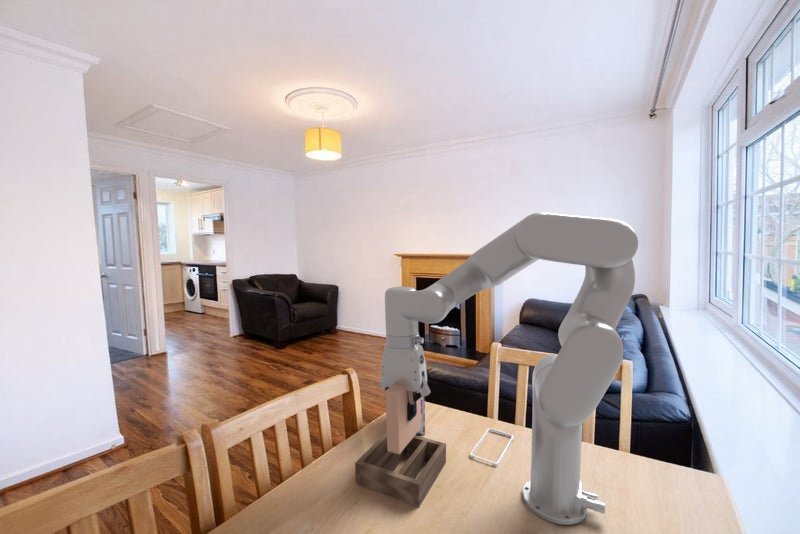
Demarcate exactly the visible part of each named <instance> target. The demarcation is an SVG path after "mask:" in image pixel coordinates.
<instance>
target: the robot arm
mask: <svg viewBox="0 0 800 534" xmlns="http://www.w3.org/2000/svg"><path fill="white" fill-rule="evenodd" d="M638 247H639V239H638V235H637V233H636V231H635V230H634V229H633V228H632V226H631V225H629V224H628V223H627V222H625V221H622V220H618V219H616V218H615V219H614V218H603V217H592V216H591V217H590V216H580V215H570V214H569V215H568V214H559V213H552V212H543V211H542V212H540V211H539V212H538V211H537V212H534V213H531V214H529V215H527V216H525V217H524V218H523V219H521V220H520V221H519V222H516V224H514V225H512V226H511V227H510V228H509V229H507V230H505V231H504V232H503V233H501V234H500V235H498V236H497V237H495V238H493V239H492V240H491V241H490V242H487V244H485V245H483V246H482V247H479V249H477V250H476V251H475V252H473V253H472V254H471V255H470V256H469V257H468V258H467V259H466V260H465V261H464V262H462V263H461V264H460V265H459V266H458V267H456V268H455V269H453V270H452V271H450V272H449V273H447V274H446V275H444V276H442V277H441V278H440V279H439V280H437V281H435V282H434V283H433V284H431V285H429V286H428V287H426V288H424V289H421V290H416V289H415V288H414V287H410V286H392V287H390V288H387V289H386V290H385V293H384V312H385V313H384V315H385V340H386V342H385V343H386V344H384V346H383V349H382V350H383V351H382V358H381V376H380V377H381V378H380V380H379V382H378V386H379V387H380V389H383V390H384V391H386V390H387V389H388V388H389V387H391V386H392V385H393V384H395V385H400V386H405V389H406V391H408V398H409V403H408V404H407V418H408V421H411V420H412V419H413V418H414V417H415V416H416V414H417V400H418V399H420V398H421V397H424V396H425V397H427V396H429V395H430V394H431V389H430V387H429V385H428V374H427V363H426V357H425V353H424V348H423V346H422V345H423V344H424V342H425V338H424V337H421V336H420V333H419V322H420V323H424V324H425V323H426V324H437V323H440V322H441V321H443V320H444V319H445V318H446V317H447V315H448V314H449V313H450V311H451V310H453V309H454V308H455V307H457V306H458V305H460V304H462V303H463V302H465V301H466V300H468V299H469V298H470V297H472V296H474V295H477V294H478V293H480V292H482V291H485V290H487V289H493V288H495V287H497V286H500V285H501V284H502V283H504V282H505V281H507V280H509V279H511V278H512V277H513V276H515V275H516V274H518V273H520V272H521V271H523V270H524V269H526V268H528V267H529V266H531V265H532V264H534V263H535V262H537V261H538V260H543V261H547V262H548V261H549V262H555V263H562V264H569V265H575V266H576V265H577V266H584V267H585V274H584V279H583V282H582V284H581V287H580V289H579V290H578V293H577V295H576V297H575V299H574V301H573V302H572V304H571V306H570V308H569V310H568V312H567V314H566V315H565V317H564V318H563V320H562V322H561V324H560V326H559V328H558V333H557V337H558V341H559V343H560V346H561V348H560V349H559V352H558V354H556V353H555V354H554V353H553V354H552V353H551V354H547V355H545V356H543V357H541V358H540V359H539V360H538V361H537V362H536V364H535V365H534V369H533V371H532V376H531V377H532V381H531V382H532V386H531V387H532V388H531V389H532V421H531V422H532V423H531V453H530V458H531V459H530V479H529V480H527V481H526V482H525V483H524V485H523V486H522V498H523V502H524V504H525V505H526V506H527V507H528V509H529V510H530V511H531V512H532V513H534V514H535V515H537V516H538V517H539V518H541V519H543V520H545V521H546V522H549V523H553V524H557V525H562V526H563V525H564V526H570V525H576V524H579V523H581V522H582V521H584V520H585V519H586V516H587V513H588V509H589V510H592V511H594V512H597V513H600V514H605V513H606V512H605V511H606V509H605V508H606V506H605V505H606V503H605V502H603V501H600V500H598V494H597V493H595V492H591V491H590V492H589V491H586V490H585V488H582V481H581V463H582V461H581V459H582V440H583V423H584V422H586V420H588V419H589V418H590V417H591V416H592V415H593V413H594V412H595V410H596V409H597V407H598V405H599V404H600V403H601V401H602V399H603V398H604V395H605V394H606V392H607V390H608V389H609V387H610V385H611V383H612V382H613V380H614V378H615V376H616V375H617V373H618V371H619V369H620V368H621V366H622V361H623V358H624V345H623V341H622V338H621V336H620V334H619V333H618V332H617V331H616V329H617V327H618V324H620V321H621V319H622V317H623V315H624V313H625V310H626V308H627V306H628V305H629V302H630V301H631V298H632V295H633V293H634V288H635V284H636V272H635V264H634V261H633V257H634V256H635V255H636V253H637V251H638V249H639V248H638ZM421 344H422V345H421ZM420 388H421V389H422V391H420ZM418 391H419V392H418Z"/></svg>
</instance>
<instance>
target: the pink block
mask: <svg viewBox="0 0 800 534" xmlns="http://www.w3.org/2000/svg"><path fill="white" fill-rule="evenodd" d="M384 391H385V390H384ZM418 392H419V391H418ZM408 403H409V398H408V391H406V389H405V386H400V385H395V384H393V385H392V386H391V387H389V388H388V389H387V390H386V391H385V414H386V415H385V418H386V422H385V423H386V431H387V451H389V452H393V453H396V454H400V453H401V452H402V451H403V449H404V448H405V447H406V446H407V444H408V443H409V442H410V441H411V440H412V438H413V437H414V436H415V435H416V434H417V432H418V431H419V430H420V429H421V398H420V399H418V400H417V414H416V416H415V417H414V418H413V419H412V420H411V421H408V418H407V404H408ZM416 436H417V435H416Z"/></svg>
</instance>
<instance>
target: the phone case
mask: <svg viewBox="0 0 800 534" xmlns="http://www.w3.org/2000/svg"><path fill="white" fill-rule="evenodd" d="M490 432H491V433H494V432H495V434H498V435H501V434H502V436H504V435H505V437H508V436H509V437H508V438H510V440H509V441H508V443H507V445H506V446H505V448H504V450H503V452H502V453H501V454H500V457H499V458H498V460H497V461H496V462H495V461H491V460H489V459H486V458H483V457H480V456H477V455H475V454H474V453H475V451H476V450H477V449H478V448H479V446H480V445H481V443H482V442H483V440H484V439H485V438H486V436H487V435H488V434H489V433H490ZM513 441H514V435H513V434H511V433H509V432H505V431H502V430H498V429H495V428H491V427H489V428H487V429H486V431H485V432H484V434H482V436H481V438H480V439H479V440H478V442H477V443H476V444H475V445H474V447H473V449H472V450H471V451H470V455H469V457H470V459H472V460H475V458H476V459H478V460H481V461H485V462H487V463H490V464H491V466H493V467H498V466H499V465H500V464H501V462H502V461H503V459H504V456H505V455H506V453H507V452H508V450H509V447H510V445H511V443H512V442H513Z"/></svg>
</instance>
